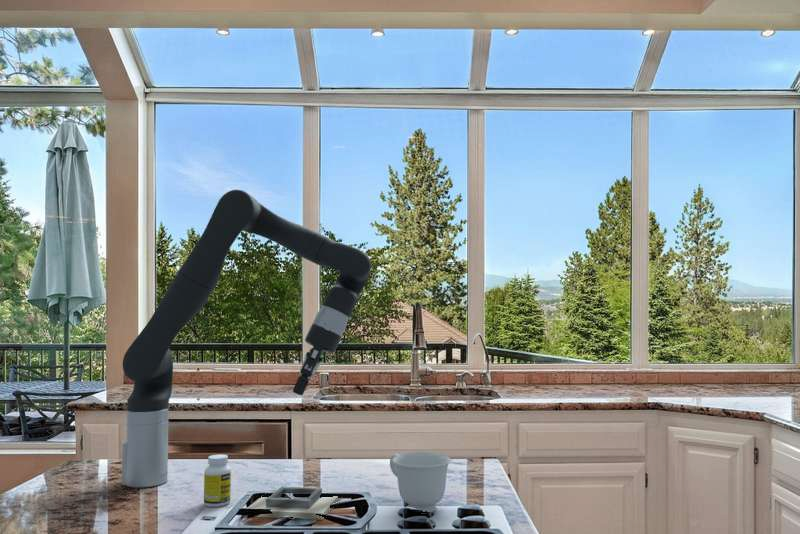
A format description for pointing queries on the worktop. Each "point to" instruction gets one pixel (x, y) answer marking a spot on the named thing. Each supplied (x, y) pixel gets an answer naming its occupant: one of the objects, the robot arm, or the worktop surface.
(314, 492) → the seat board
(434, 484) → the teacup
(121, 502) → the worktop surface
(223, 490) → the supplement bottle
